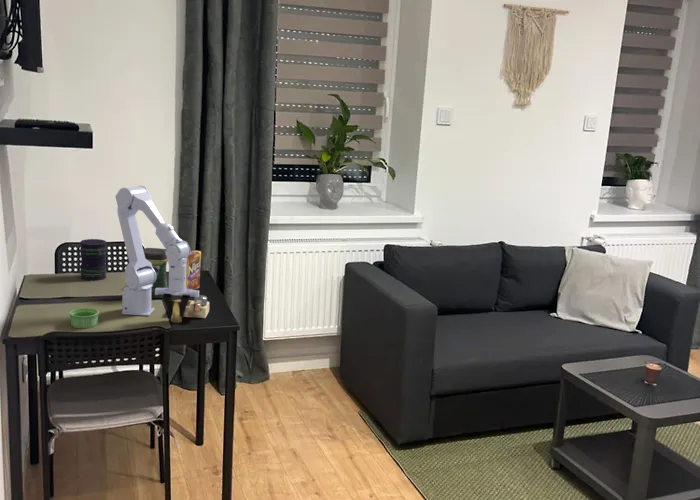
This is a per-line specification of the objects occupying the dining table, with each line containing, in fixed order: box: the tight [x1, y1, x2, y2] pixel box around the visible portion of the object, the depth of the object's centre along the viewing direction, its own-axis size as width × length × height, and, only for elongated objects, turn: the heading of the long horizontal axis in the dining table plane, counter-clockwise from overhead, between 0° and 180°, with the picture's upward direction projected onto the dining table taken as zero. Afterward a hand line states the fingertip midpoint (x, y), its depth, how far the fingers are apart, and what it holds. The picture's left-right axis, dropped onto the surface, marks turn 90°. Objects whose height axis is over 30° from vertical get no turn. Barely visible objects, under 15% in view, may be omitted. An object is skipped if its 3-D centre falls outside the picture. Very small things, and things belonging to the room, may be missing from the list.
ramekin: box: [69, 307, 100, 329], centre depth 223 cm, size 9×9×4 cm
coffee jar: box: [143, 247, 169, 299], centre depth 257 cm, size 10×8×19 cm
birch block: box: [182, 299, 210, 319], centre depth 242 cm, size 12×8×4 cm, turn 92°
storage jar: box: [79, 238, 107, 282], centre depth 275 cm, size 10×10×15 cm
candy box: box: [186, 249, 202, 290], centre depth 269 cm, size 9×4×15 cm, turn 157°
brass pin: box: [170, 299, 183, 324], centre depth 233 cm, size 3×3×7 cm
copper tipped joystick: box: [193, 294, 208, 312], centre depth 238 cm, size 4×11×3 cm, turn 2°
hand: (176, 315), depth 233 cm, fingers closed on brass pin, 3 cm apart
